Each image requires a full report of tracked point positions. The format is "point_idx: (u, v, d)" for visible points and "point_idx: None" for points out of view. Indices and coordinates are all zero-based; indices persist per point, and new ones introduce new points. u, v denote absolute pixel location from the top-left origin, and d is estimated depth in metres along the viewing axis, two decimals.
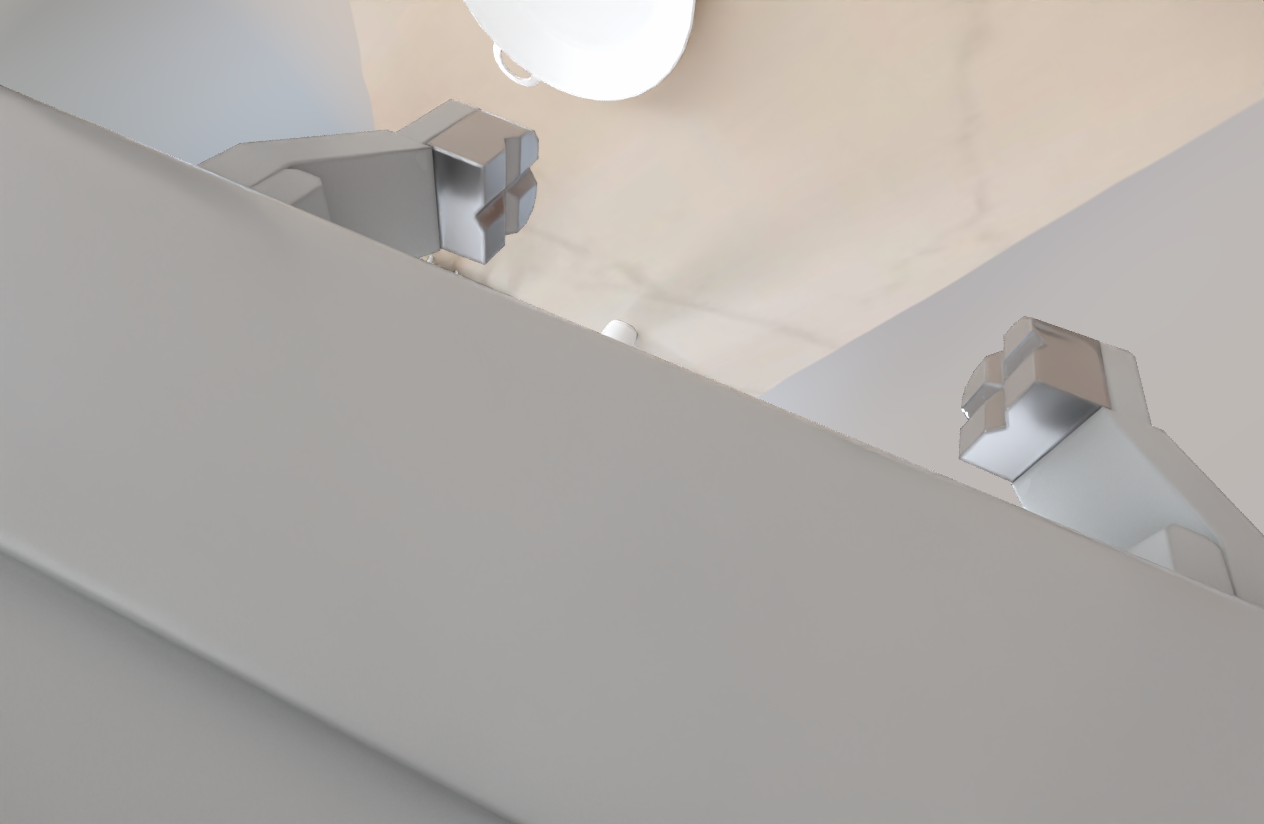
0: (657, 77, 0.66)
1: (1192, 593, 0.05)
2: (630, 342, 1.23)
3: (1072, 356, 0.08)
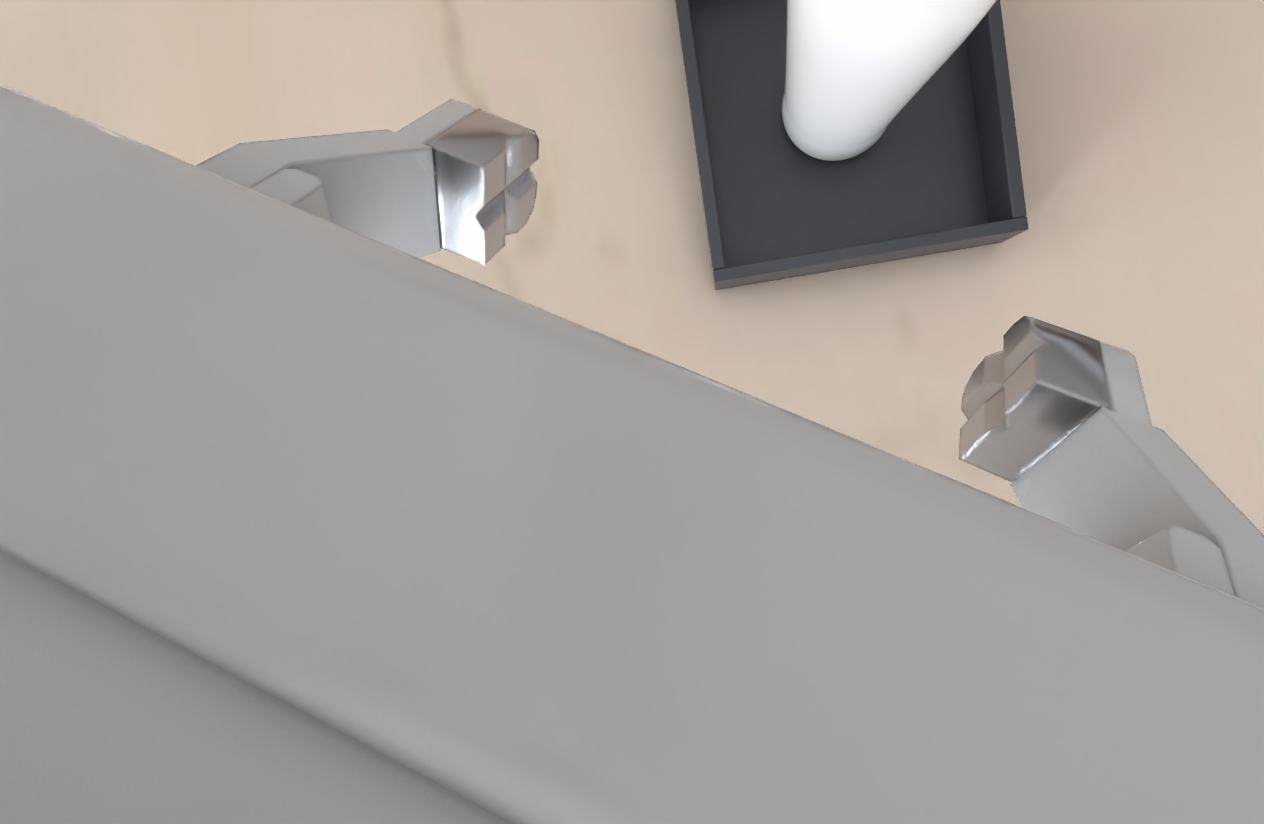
0: None
1: (1192, 593, 0.05)
2: None
3: (1072, 356, 0.08)
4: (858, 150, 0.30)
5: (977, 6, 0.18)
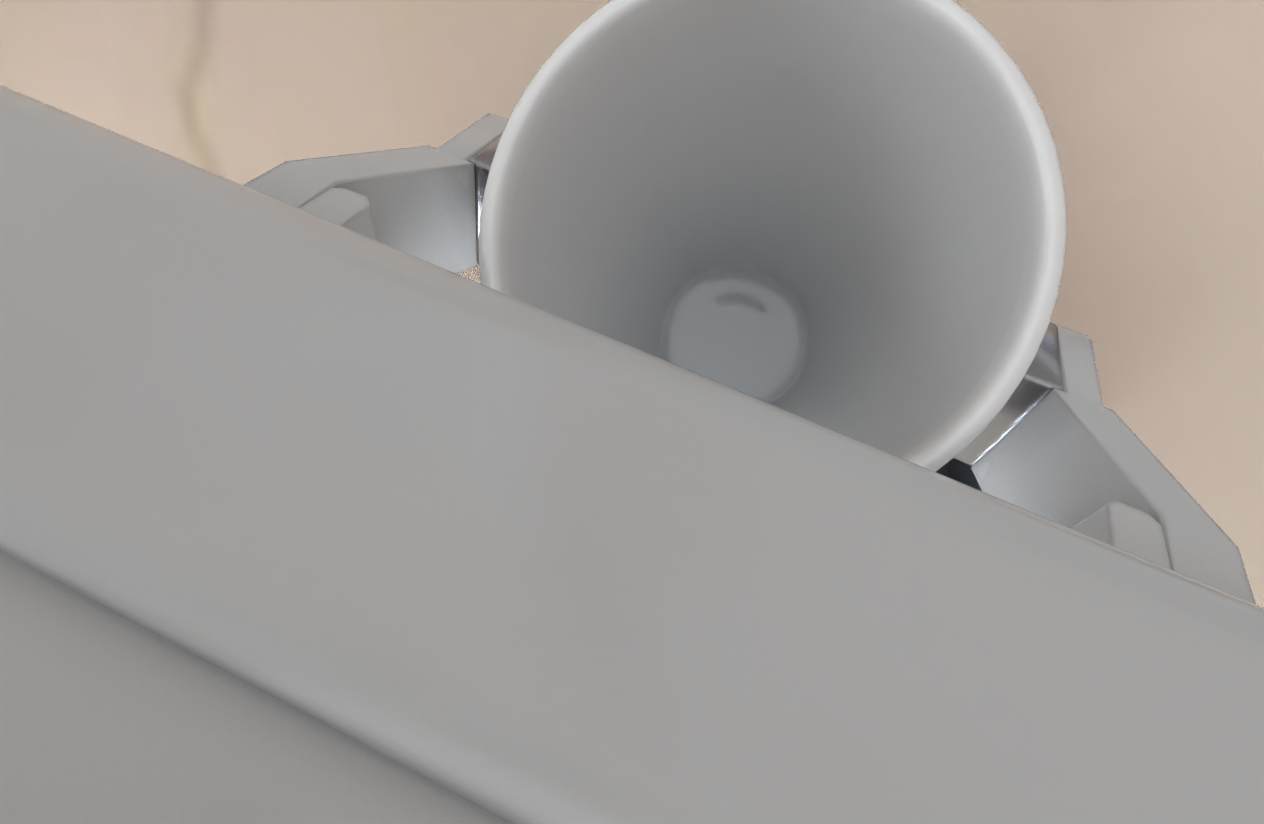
0: None
1: (1192, 593, 0.05)
2: None
3: None
4: None
5: None
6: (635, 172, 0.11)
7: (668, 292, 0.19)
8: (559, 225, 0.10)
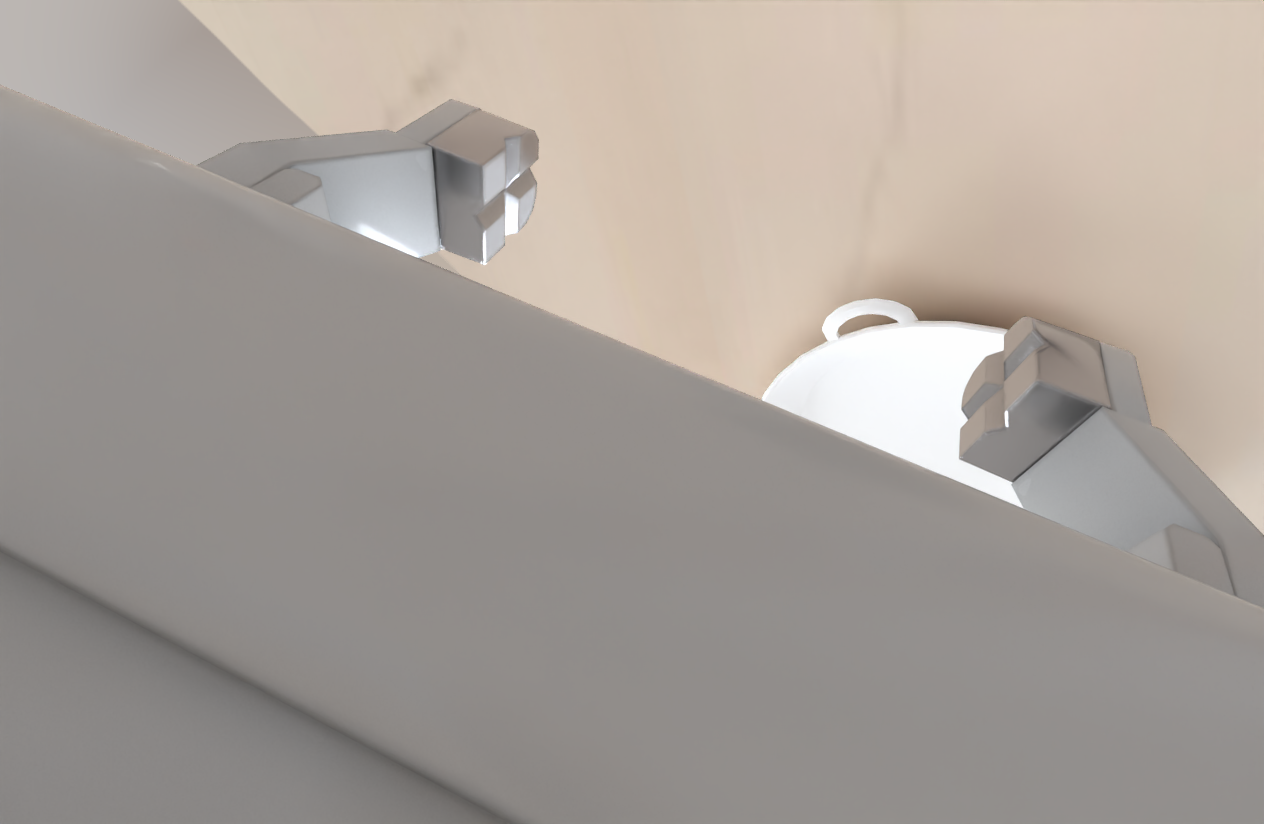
0: None
1: (1192, 593, 0.05)
2: None
3: (1072, 356, 0.08)
4: None
5: None
6: None
7: None
8: None
